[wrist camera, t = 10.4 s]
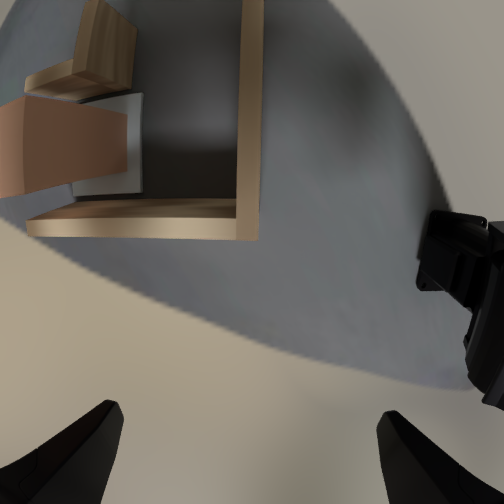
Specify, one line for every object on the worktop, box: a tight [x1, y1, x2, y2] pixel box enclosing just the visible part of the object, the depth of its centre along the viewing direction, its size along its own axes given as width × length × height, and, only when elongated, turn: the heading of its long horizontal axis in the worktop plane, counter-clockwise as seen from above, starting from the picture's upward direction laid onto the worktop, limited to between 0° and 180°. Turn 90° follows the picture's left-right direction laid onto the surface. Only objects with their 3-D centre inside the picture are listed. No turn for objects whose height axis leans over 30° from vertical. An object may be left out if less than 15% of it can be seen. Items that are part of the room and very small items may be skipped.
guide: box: [24, 0, 264, 241], centre depth 14 cm, size 14×14×6 cm
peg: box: [0, 95, 128, 198], centre depth 12 cm, size 4×4×10 cm
